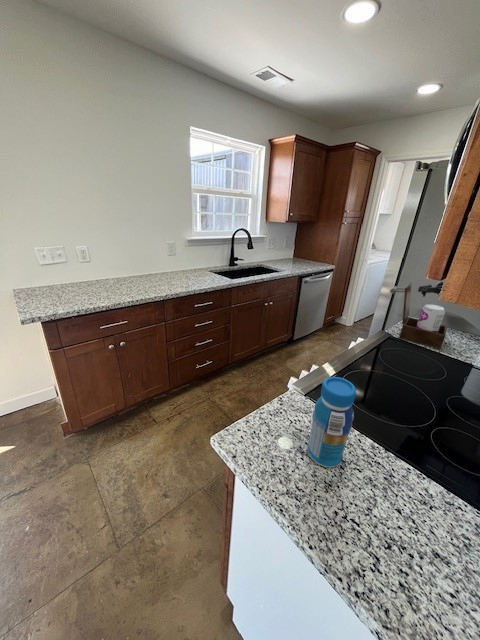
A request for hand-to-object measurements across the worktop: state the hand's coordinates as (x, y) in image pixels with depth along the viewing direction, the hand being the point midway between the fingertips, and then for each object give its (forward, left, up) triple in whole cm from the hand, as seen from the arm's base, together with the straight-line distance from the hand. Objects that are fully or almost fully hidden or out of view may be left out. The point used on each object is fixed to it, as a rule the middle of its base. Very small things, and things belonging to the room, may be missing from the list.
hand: (442, 297), depth 119 cm
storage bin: (+2, +11, -18) cm, 21 cm away
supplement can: (+1, +10, -17) cm, 20 cm away
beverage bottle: (+12, +98, -18) cm, 100 cm away
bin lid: (+11, +11, -3) cm, 16 cm away
